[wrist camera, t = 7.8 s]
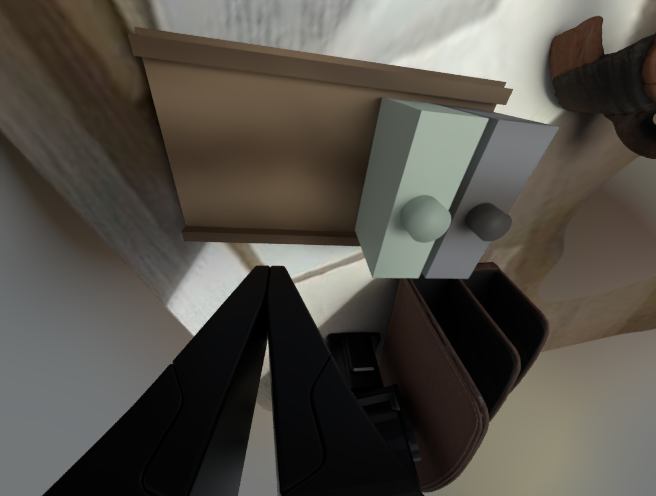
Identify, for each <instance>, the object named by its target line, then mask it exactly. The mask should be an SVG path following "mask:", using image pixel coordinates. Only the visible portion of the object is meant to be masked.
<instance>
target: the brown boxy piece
mask: <svg viewBox="0 0 656 496" xmlns="http://www.w3.org/2000/svg"><path fill="white" fill-rule="evenodd" d="M135 31H136V35H135V34H128V33H127V34H128V37H129V41H130V45H131V48H132V52H133V56H139V57H142V58H143V62H144V66H145V70H146V74H147V78H148V81H149V85H150V89H151V93H152V97H153V101H154V105H155V108H156V112H157V116H158V120H159V124H160V128H161V132H162V135H163V139H164V143H165V147H166V151H167V155H168V159H169V163H170V166H171V170H172V174H173V178H174V182H175V186H176V190H177V193H178V197H179V201H180V205H181V209H182V213H183V217H184V220H185V224H186V226H185V228H184V229H183V231H182V234H183V238H184V241H198V242H233V243H268V244H303V245H338V246H361V245H360V243H359V240H358V237H357V235H356V232H355V226H356V221H357V217H358V212H359V207H360V202H361V197H362V192H363V187H364V183H365V178H366V173H367V168H368V163H369V158H370V153H371V149H372V144H373V139H374V134H375V129H376V124H377V119H378V115H379V110H380V105H381V100H382V97H388V98H395V99H403V100H411V101H419V102H427V103H432V104H436V105H440V106H444V107H447V108H451V109H455V110H459V111H462V112H466V113H470V114H474V115H477V116H481V117H485V118H489V120H488V122H487V124H486V126H485V129H484V131H483V133H482V135H481V138H480V140H479V142H478V145H477V147H476V149H475V151H474V154H473V156H472V158H471V160H470V163H469V165H468V167H467V169H466V172H465V174H464V176H463V178H462V181H461V183H460V185H459V188H458V190H457V192H456V194H455V197H454V199H453V201H452V203H451V206H450V208H449V210H448V211H449V212H450V215H451V223H450V226H449V228H448V229H447V231H446V232H445V233H444V234H443V235H442V236H441V237H439V238H438V239H436V240H435V242H434V244H433V246H432V249H431V251H430V253H429V255H428V258H427V260H426V262H425V264H424V267H423V269H422V271H421V272H422V273H423V275H424V277H425V278H454V279H468V278H469V277H470V275H471V273H472V272H473V270H474V268H475V267H476V265H477V263H478V262H479V260H480V258H481V257H482V255H483V253H484V252H485V250H486V248H487V247H488V245H489V243H490V242H491V241H494V240H496V239H498V238H500V237H502V236H503V235H504V234H505V233H506V232H507V231H508V230H509V228H510V226H511V223H512V220H511V217H510V216H509V215H507V214H508V212H509V210H510V209H511V207H512V205H513V204H514V202H515V200H516V199H517V197H518V195H519V194H520V192H521V190H522V189H523V187H524V185H525V184H526V182H527V180H528V179H529V177H530V175H531V174H532V172H533V170H534V169H535V167H536V165H537V164H538V162H539V160H540V159H541V157H542V156H543V154H544V152H545V151H546V149H547V147H548V146H549V144H550V142H551V141H552V139H553V137H554V136H555V134H556V132H557V131H558V129H559V127H557V126H552V125H548V124H544V123H539V122H535V121H530V120H526V119H522V118H517V117H513V116H509V115H504V114H500V113H495V112H493V111H494V109H495V107H496V104H502V105H506V104H507V101H508V99H509V97H510V95H511V93H512V91H513V89H508V88H504V86H505V84H506V82H501V81H495V80H488V79H481V78H474V77H468V76H461V75H454V74H447V73H441V72H434V71H427V70H421V69H414V68H407V67H400V66H394V65H387V64H380V63H374V62H367V61H360V60H353V59H347V58H340V57H333V56H327V55H320V54H313V53H306V52H300V51H293V50H286V49H280V48H273V47H266V46H259V45H253V44H246V43H239V42H232V41H226V40H219V39H212V38H206V37H199V36H192V35H185V34H179V33H172V32H165V31H159V30H152V29H145V28H138V27H135Z"/></svg>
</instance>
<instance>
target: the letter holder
mask: <svg viewBox="0 0 656 496" xmlns="http://www.w3.org/2000/svg"><path fill="white" fill-rule="evenodd" d="M548 334H549V323H548V320H547V318H546V317H545V315H544V314H543V313H542V312H541V311H540V310H539V309H538V308H537V307H536V306H535V305H534V304H533V303H532V302H531V301H530V300H529V298H528V297H527V296H526V295H525V294H524V293H523V292H522V291H521V290H520V289H519V288H518V287H517V286H516V285H515V284H514V283H513V282H512V281H511V280H510V279H509V278H508V277H507V276H506V275H505V274H504V273H503V272H502V270H501V269H500V268H499V267H498V266H497V265H496V264H495V263H493V262H490V263H480V264H477V265H476V267H475V268H474V270H473V272H472V273H471V275H470V277H469V278H468V279H454V278H425V277H424V275H423V273H422V272H421V274H420V276H419V278H399V283H398V288H397V293H396V298H395V302H394V306H393V310H392V314H391V319H390V323H389V326H388V331H387V335H386V340H385V344H384V349H383V353H382V357H381V362H380V366H379V371H380V374H381V378H382V381H383V385H384V387H387V386H391V385H392V384H396V383H397V386H398V388H399V391H400V394H401V397H402V400H403V403H404V405H405V408H406V411H407V414H408V417H409V419H410V422H411V425H412V428H413V431H414V435H415V438H416V441H417V445H418V448H419V452H420V456H421V460H419V461H414V463H415V467H416V470H417V473H418V477H419V480H420V484H421V492H433V491H436V490H439V489H441V488H443V487H445V486H447V485H448V484H450V483H451V482H453V481H454V480H455V479H456V478H457V477H458V476H460V474H461V473H462V472H463V471H464V469H465V468H466V467H467V465H468V464H469V462H470V461H471V460H472V458H473V456H474V455H475V453H476V451H477V449H478V448H479V446H480V444H481V443H482V441H483V439H484V437H485V435H486V433H487V430H488V426H489V422H490V421H491V420H492V419H493V417H494V416H495V415H496V413H497V412H498V411H499V409H500V408H501V406H502V405H503V403H504V401H505V400H506V398H507V396H508V395H509V394H510V393H511V392H512V391H513V389H514V388H515V387H516V386H517V385H518V384H519V383H520V381H521V380H522V378H523V377H524V376H525V375H526V373H527V372H528V370H529V369H530V368H531V366H532V365H533V363H534V362H535V360H536V359H537V357H538V355H539V353H540V352H541V350H542V348H543V346H544V345H545V342H546V340H547V337H548ZM395 409H396V410H397V408H394V409H392V410H395Z"/></svg>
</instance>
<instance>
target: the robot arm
mask: <svg viewBox="0 0 656 496" xmlns="http://www.w3.org/2000/svg"><path fill="white" fill-rule="evenodd" d="M380 339H381V337H380V334H378V333H367V334H332V335H329V336H328V338H327V343H325V341H324V339H323V337H322V335H321V334H320V332H319V330H318V328H317V326H316V324H315V322H314V320H313V318H312V317H311V315H310V313H309V311H308V309H307V307H306V305H305V303H304V302H303V300H302V298H301V296H300V294H299V292H298V290H297V288H296V286H295V285H294V283H293V281H292V279H291V277H290V275H289V273H288V271H287V270H286V268H285V267H284V266H271V268H270V266H255V267H254V268H253V270H252V271H251V272H250V273H249V274H248V275H247V276H246V278H245V279H244V280H243V281H242V282H241V283H240V285H239V286H238V287H237V288H236V289H235V290H234V291H233V293H232V294H231V295H230V296H229V297H228V298H227V299H226V301H225V302H224V303H223V304H222V305H221V306H220V307H219V309H218V310H217V311H216V312H215V313H214V314H213V316H212V317H211V318H210V319H209V320H208V321H207V322H206V324H205V325H204V326H203V327H202V328H201V329H200V330H199V332H198V333H197V334H196V335H195V336H194V337H193V339H192V340H191V341H190V342H189V343H188V344H187V345H186V347H185V348H184V349H183V350H182V351H181V353H179V355H178V356H177V357H176V358H175V359H174V360H173V364H170V365H169V366H168V367H167V368H166V369H165V370H164V372H163V373H162V374H161V375H160V376H159V377H158V379H157V380H156V381H155V382H154V383H153V384H152V385H151V386H150V387H149V388H148V389H147V391H146V392H145V393H144V394H143V395H142V396H141V397H140V398H139V399H138V401H137V402H136V403H135V404H134V405H133V406H132V407H131V408H130V409H129V410H128V411H127V412H126V413H125V414H124V415H123V416H122V417H121V418H120V419H119V420H118V421H117V422H116V423H115V424H114V425H113V426H112V427H111V428H110V429H109V430H108V431H107V432H106V433H105V434H104V435H103V436H102V437H101V438H100V439H99V440H98V441H97V442H96V443H95V444H94V445H93V446H92V447H91V448H90V449H89V450H88V451H87V452H86V453H85V454H84V455H83V456H82V457H81V458H80V459H79V460H78V461H77V462H76V463H75V464H74V465H73V466H72V467H71V468H70V469H69V470H68V471H67V472H66V473H65V474H64V475H63V476H62V477H61V478H60V479H59V480H58V481H57V482H56V483H54V484H53V486H51V487H50V488H49V489H48V490H47V491H46V492H45V493H44V494H43V495H42V496H238V491H239V486H240V481H241V476H242V471H243V465H244V460H245V455H246V450H247V444H248V440H249V434H250V429H251V424H252V418H253V414H254V408H255V403H256V398H257V393H258V388H259V382H260V377H261V372H262V367H263V362H264V357H265V351H266V346H267V340H268V347H269V363H270V379H271V395H272V411H273V425H274V426H273V428H274V442H275V443H274V444H275V458H276V476H277V492H278V496H424V495H423V494H422V492H421V484H420V480H419V477H418V473H417V470H416V467H415V463H414V461H419V460H421V456H420V452H419V448H418V445H417V441H416V438H415V435H414V431H413V428H412V425H411V422H410V419H409V417H408V414H407V411H406V408H405V405H404V403H403V400H402V397H401V394H400V391H399V388H398V386H397V383H396V384H392V385H391V386H387V387H384V385H383V381H382V378H381V374H380V371H379V367H378V363H377V360H376V356H375V351H376V349H377V346H378V344H379V341H380ZM394 408H397V410H396V409H395V410H392V409H394Z"/></svg>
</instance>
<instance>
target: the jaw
mask: <svg viewBox="0 0 656 496" xmlns="http://www.w3.org/2000/svg"><path fill="white" fill-rule="evenodd" d="M488 120H489V118H485V117H481V116H477V115H474V114H470V113H466V112H462V111H459V110H455V109H451V108H447V107H444V106H440V105H436V104H432V103H427V102H419V101H411V100H403V99H395V98H388V97H382V100H381V105H380V110H379V115H378V119H377V124H376V129H375V134H374V139H373V144H372V149H371V153H370V158H369V163H368V168H367V173H366V178H365V183H364V187H363V192H362V197H361V202H360V207H359V212H358V217H357V221H356V226H355V232H356V235H357V237H358V240H359V243H360V245H361V248H362V251H363V253H364V256H365V259H366V262H367V264H368V267H369V270H370V272H371V275H372V278H419V276H420V274H421V271H422V269H423V267H424V264H425V262H426V260H427V258H428V255H429V253H430V251H431V249H432V246H433V244H434V242H435V240H436V239H438V238H439V237H441V236H442V235H443V234H444V233H445V232H446V231H447V229H448V228H449V226H450V223H451V215H450V212H449V211H448V210H449V208H450V206H451V203H452V201H453V199H454V197H455V194H456V192H457V190H458V188H459V185H460V183H461V181H462V178H463V176H464V174H465V172H466V169H467V167H468V165H469V163H470V160H471V158H472V156H473V154H474V151H475V149H476V147H477V145H478V142H479V140H480V138H481V135H482V133H483V131H484V129H485V126H486V124H487V122H488Z"/></svg>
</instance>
